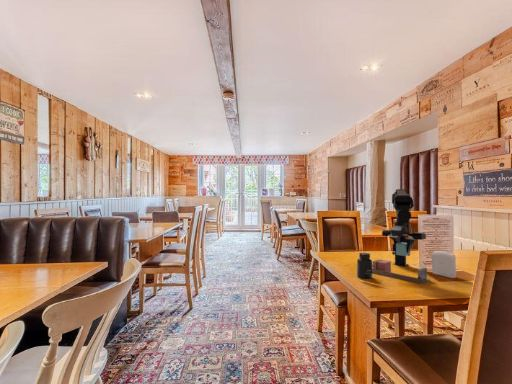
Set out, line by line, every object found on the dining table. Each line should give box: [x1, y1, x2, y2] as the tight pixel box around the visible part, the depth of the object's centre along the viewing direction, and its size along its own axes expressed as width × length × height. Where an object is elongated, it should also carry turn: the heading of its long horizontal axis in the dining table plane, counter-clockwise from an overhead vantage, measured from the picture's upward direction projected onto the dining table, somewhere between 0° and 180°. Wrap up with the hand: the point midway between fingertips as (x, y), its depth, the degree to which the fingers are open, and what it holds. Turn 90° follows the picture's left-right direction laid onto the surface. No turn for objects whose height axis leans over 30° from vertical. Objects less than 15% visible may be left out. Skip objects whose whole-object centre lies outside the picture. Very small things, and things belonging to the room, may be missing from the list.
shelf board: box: [372, 258, 424, 285], centre depth 138 cm, size 11×24×6 cm, turn 39°
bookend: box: [417, 267, 430, 284], centre depth 130 cm, size 7×2×5 cm, turn 129°
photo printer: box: [431, 250, 457, 279], centre depth 139 cm, size 10×4×12 cm, turn 26°
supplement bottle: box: [356, 252, 373, 280], centre depth 136 cm, size 7×7×12 cm
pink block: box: [377, 259, 392, 273], centre depth 144 cm, size 6×4×6 cm, turn 129°
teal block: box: [396, 242, 411, 257], centre depth 138 cm, size 6×4×6 cm, turn 129°
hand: (403, 252), depth 138 cm, fingers closed on teal block, 4 cm apart
